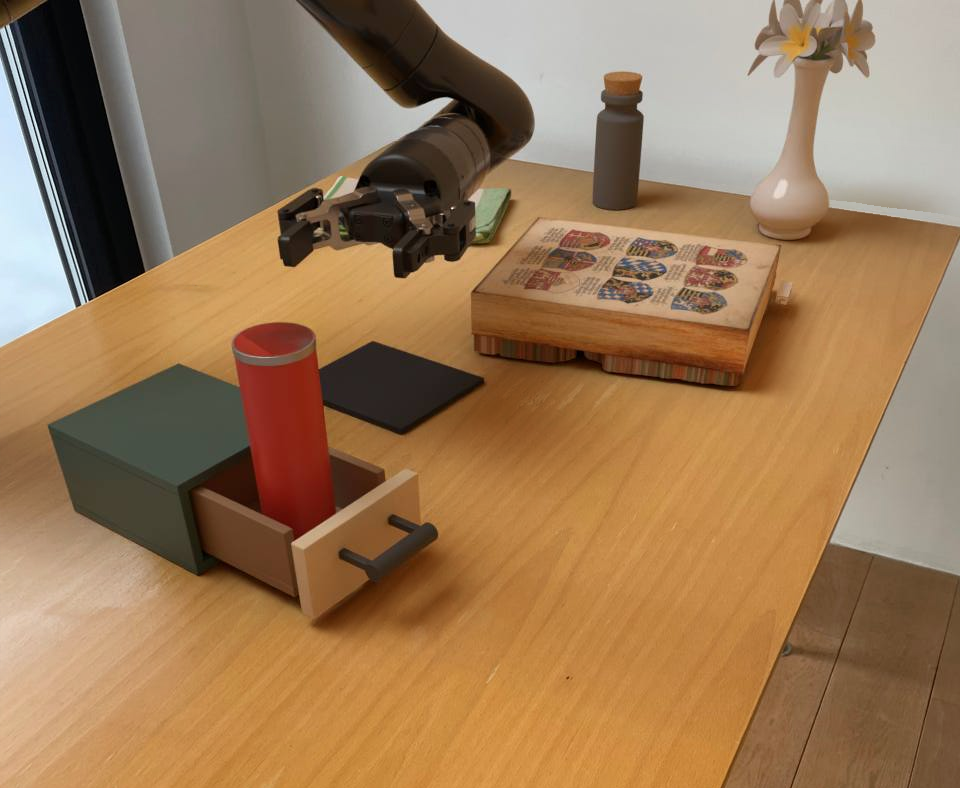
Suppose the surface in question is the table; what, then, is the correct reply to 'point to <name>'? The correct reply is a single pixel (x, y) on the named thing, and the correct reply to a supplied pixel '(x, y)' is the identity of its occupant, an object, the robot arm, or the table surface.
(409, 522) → the drawer
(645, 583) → the table surface
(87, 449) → the cabinet
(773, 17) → the flower vase
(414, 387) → the mat
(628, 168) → the bottle
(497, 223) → the dish towel
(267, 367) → the tin
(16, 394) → the table surface
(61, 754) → the table surface
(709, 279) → the wooden box
